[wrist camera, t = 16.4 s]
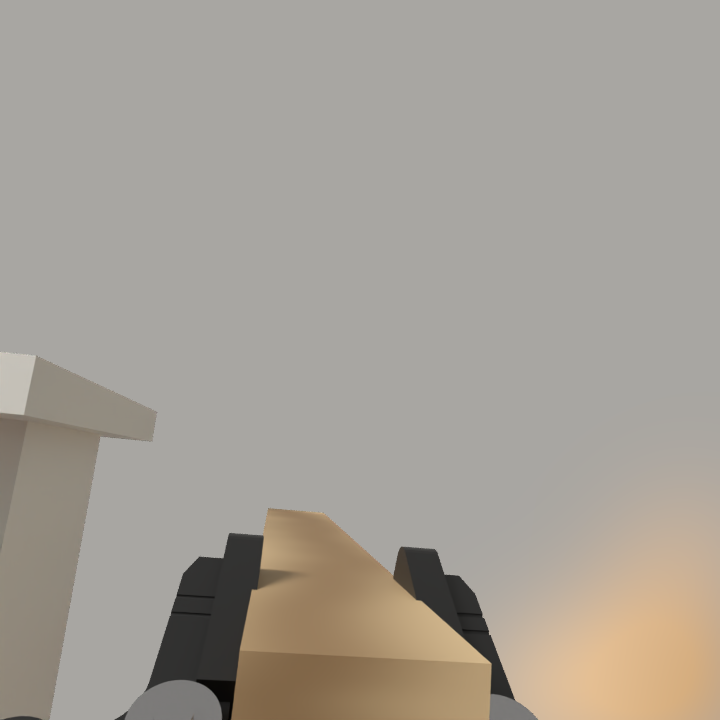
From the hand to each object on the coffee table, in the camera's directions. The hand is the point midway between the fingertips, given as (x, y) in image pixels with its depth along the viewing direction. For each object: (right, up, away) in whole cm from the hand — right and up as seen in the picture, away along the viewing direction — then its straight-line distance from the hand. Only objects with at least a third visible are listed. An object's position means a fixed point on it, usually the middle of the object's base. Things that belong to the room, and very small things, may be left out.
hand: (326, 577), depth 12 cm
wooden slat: (-1, -4, +6) cm, 8 cm away
